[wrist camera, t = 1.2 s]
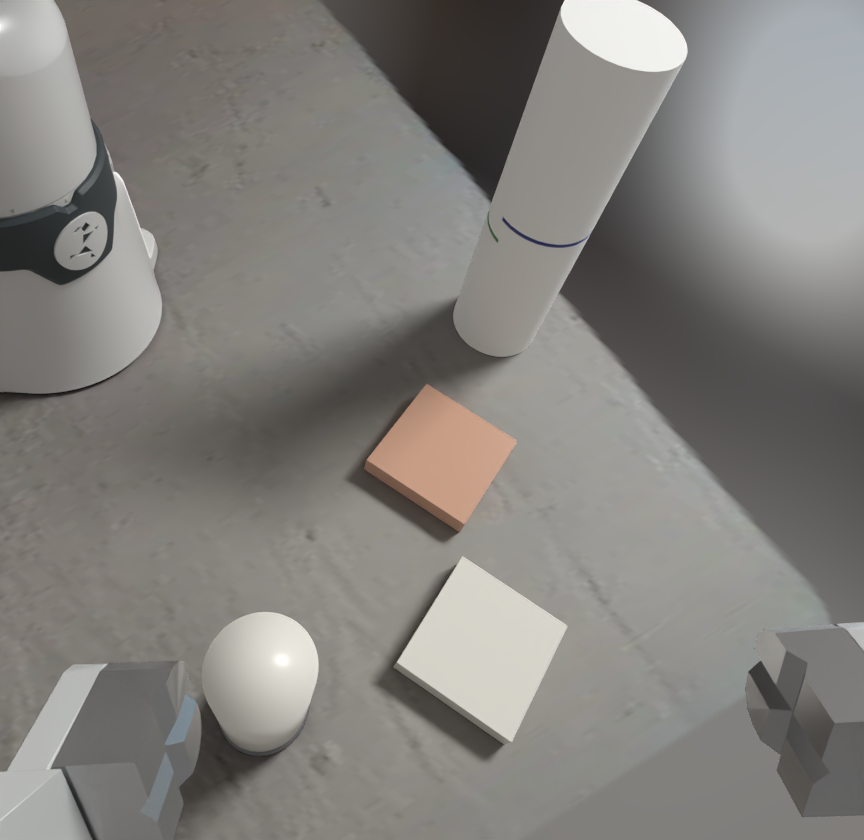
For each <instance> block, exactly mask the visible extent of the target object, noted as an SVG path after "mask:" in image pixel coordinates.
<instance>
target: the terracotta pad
mask: <svg viewBox="0 0 864 840" xmlns="http://www.w3.org/2000/svg"><path fill="white" fill-rule="evenodd" d="M516 443H517V441H516V440H515V439H513V438H512V437H510V436H508V435H507V434H505V433H504V432H502V431H500V430H499V429H497V428H496V427H494V426H493V425H491V424H489V423H488V422H486V421H485V420H483V419H482V418H480V417H478V416H477V415H475V414H474V413H472V412H470V411H469V410H467V409H466V408H464V407H463V406H461V405H459V404H458V403H456V402H455V401H453V400H452V399H450V398H448V397H447V396H445V395H444V394H442V393H441V392H439V391H437V390H436V389H434V388H433V387H431V386H429V385H428V384H426V385H425V386H424V388H423V389H422V390H421V391H420V393H419V394H418V395H417V396H416V398H415V399H414V400H413V402H412V403H411V404H410V405H409V407H408V408H407V409H406V410H405V412H404V413H403V414H402V416H401V417H400V418H399V419H398V421H397V422H396V423H395V424H394V426H393V427H392V428H391V429H390V431H389V432H388V433H387V435H386V436H385V437H384V438H383V440H382V441H381V442H380V443H379V445H378V446H377V447H376V448H375V450H374V451H373V452H372V454H371V455H370V456H369V457H368V459H367V460H366V464H365V468H364V470H366V471H367V472H369V473H370V474H372V475H373V476H375V477H376V478H378V479H379V480H381V481H382V482H384V483H385V484H387V485H388V486H390V487H391V488H393V489H395V490H396V491H398V492H399V493H401V494H402V495H404V496H405V497H407V498H408V499H410V500H411V501H413V502H414V503H416V504H417V505H419V506H420V507H422V508H423V509H425V510H426V511H428V512H429V513H431V514H432V515H434V516H435V517H437V518H438V519H440V520H441V521H443V522H444V523H446V524H448V525H449V526H451V527H452V528H454V529H455V530H457V531H458V532H460V531H461V529H462V528H463V526H464V525H465V523H466V521H467V520H468V518H469V517H470V515H471V514H472V512H473V510H474V509H475V507H476V506H477V504H478V503H479V501H480V499H481V498H482V496H483V495H484V493H485V492H486V490H487V488H488V487H489V485H490V484H491V482H492V481H493V479H494V478H495V476H496V474H497V473H498V471H499V470H500V468H501V467H502V465H503V463H504V462H505V460H506V459H507V457H508V456H509V454H510V452H511V451H512V449H513V448H514V446H515V445H516Z"/></svg>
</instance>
